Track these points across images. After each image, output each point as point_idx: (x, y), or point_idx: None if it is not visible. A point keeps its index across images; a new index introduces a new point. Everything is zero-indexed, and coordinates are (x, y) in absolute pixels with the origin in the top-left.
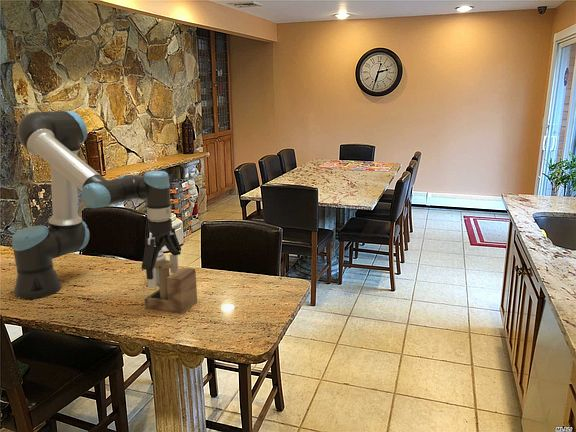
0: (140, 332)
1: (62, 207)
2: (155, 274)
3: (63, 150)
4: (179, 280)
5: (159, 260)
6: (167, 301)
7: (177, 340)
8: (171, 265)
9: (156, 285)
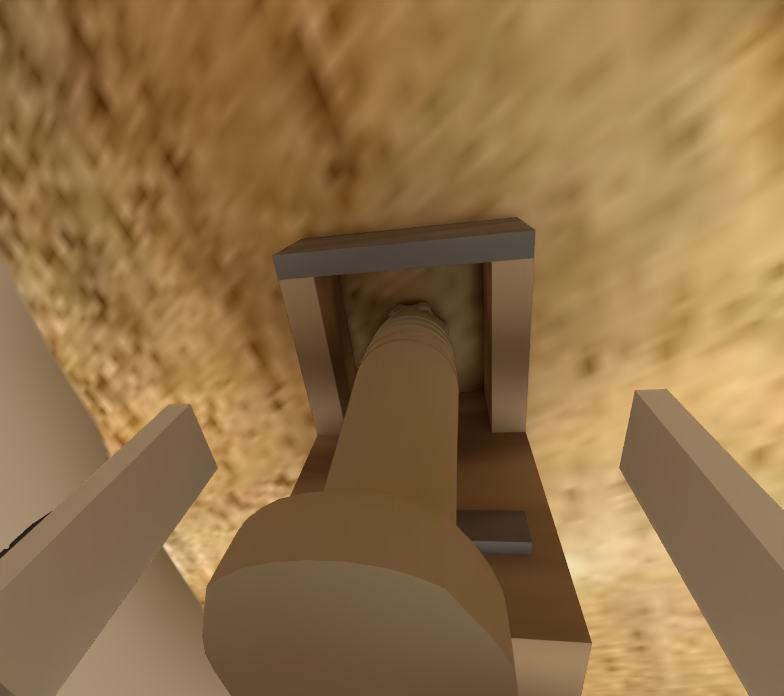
0: (110, 392)
1: None
2: (109, 609)
3: None
4: None
5: (460, 602)
6: (322, 426)
7: (172, 534)
8: None
9: (202, 485)
